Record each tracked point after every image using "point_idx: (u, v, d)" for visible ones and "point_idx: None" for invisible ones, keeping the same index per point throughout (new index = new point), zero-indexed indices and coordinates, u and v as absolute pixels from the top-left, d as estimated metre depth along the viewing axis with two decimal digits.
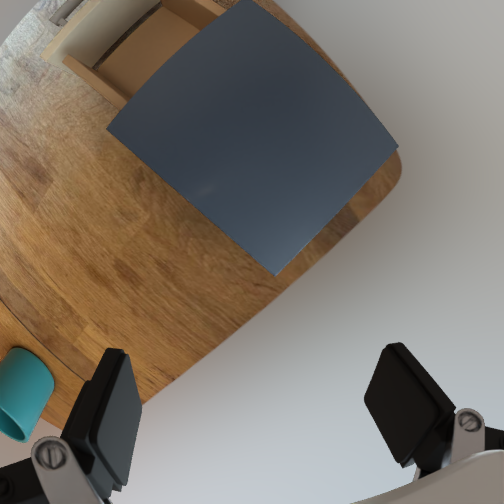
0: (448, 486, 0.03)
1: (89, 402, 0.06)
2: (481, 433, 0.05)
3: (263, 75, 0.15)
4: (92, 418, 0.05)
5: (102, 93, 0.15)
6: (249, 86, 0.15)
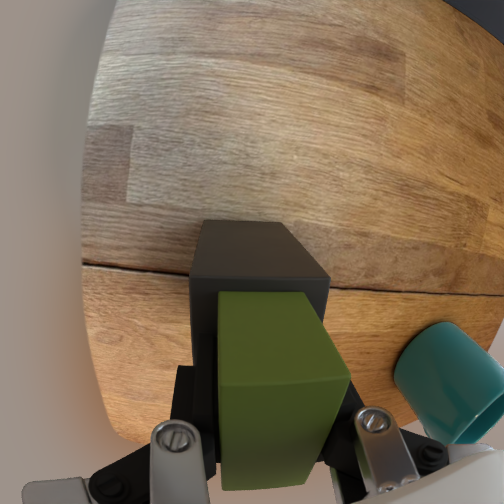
0: (448, 486, 0.03)
1: (203, 381, 0.07)
2: (394, 428, 0.06)
3: None
4: (212, 395, 0.07)
5: None
6: None
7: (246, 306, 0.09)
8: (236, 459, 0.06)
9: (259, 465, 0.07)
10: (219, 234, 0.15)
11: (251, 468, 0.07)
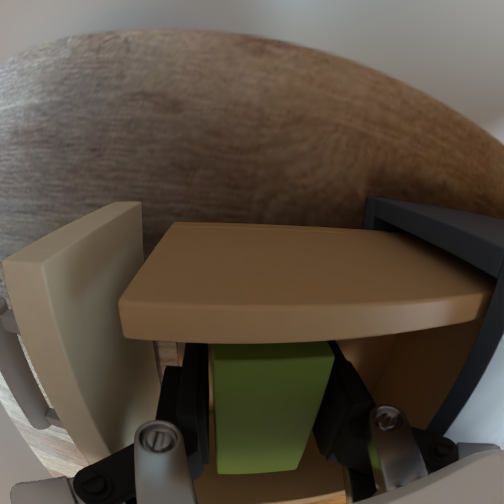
0: (448, 486, 0.03)
1: (188, 382, 0.07)
2: (406, 427, 0.06)
3: None
4: (196, 396, 0.07)
5: None
6: None
7: None
8: (229, 439, 0.07)
9: (252, 446, 0.07)
10: None
11: (244, 449, 0.07)
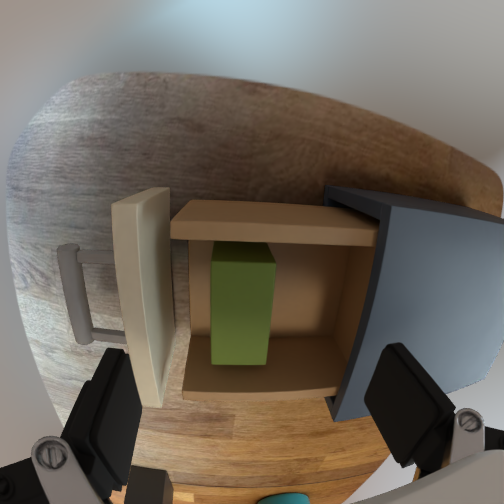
0: (448, 486, 0.03)
1: (89, 402, 0.06)
2: (481, 433, 0.05)
3: (452, 289, 0.12)
4: (92, 418, 0.05)
5: (276, 399, 0.14)
6: (445, 308, 0.12)
7: None
8: (219, 324, 0.14)
9: (233, 333, 0.14)
10: (134, 486, 0.24)
11: (228, 336, 0.14)
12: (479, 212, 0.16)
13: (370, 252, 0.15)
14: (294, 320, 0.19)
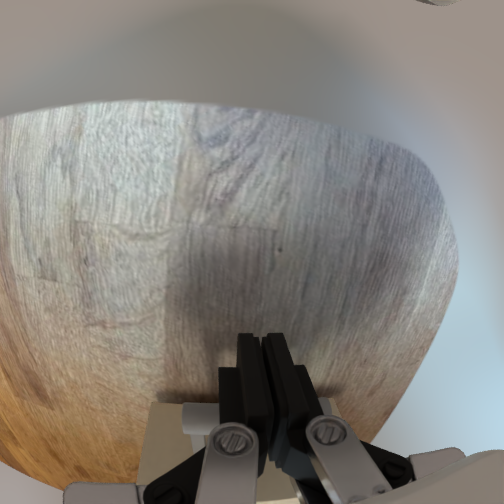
0: (448, 486, 0.03)
1: (253, 382, 0.07)
2: (351, 435, 0.06)
3: None
4: (264, 395, 0.07)
5: None
6: None
7: None
8: None
9: None
10: None
11: None
12: None
13: None
14: None
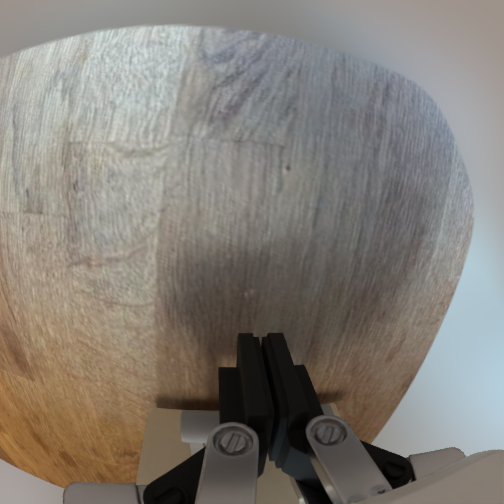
0: (448, 486, 0.03)
1: (253, 382, 0.07)
2: (351, 435, 0.06)
3: None
4: (264, 395, 0.07)
5: None
6: None
7: None
8: None
9: None
10: None
11: None
12: None
13: None
14: None
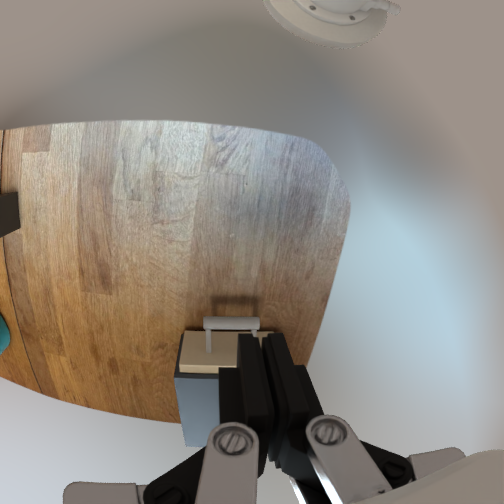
0: (448, 486, 0.03)
1: (253, 382, 0.07)
2: (352, 436, 0.06)
3: None
4: (264, 395, 0.07)
5: None
6: None
7: None
8: None
9: None
10: (2, 204, 0.24)
11: None
12: None
13: None
14: None
